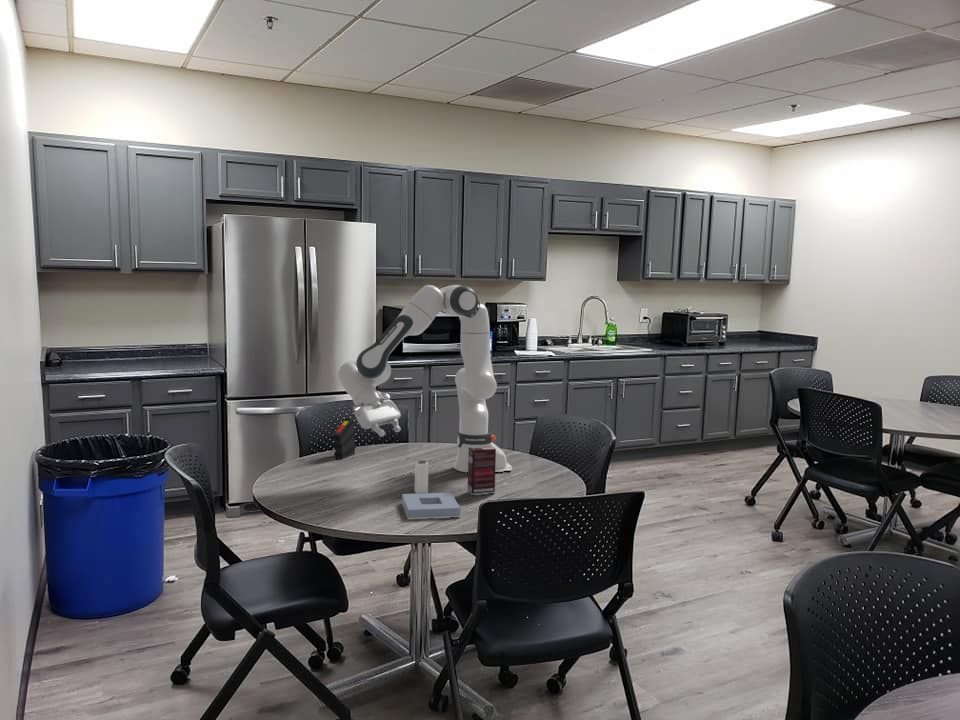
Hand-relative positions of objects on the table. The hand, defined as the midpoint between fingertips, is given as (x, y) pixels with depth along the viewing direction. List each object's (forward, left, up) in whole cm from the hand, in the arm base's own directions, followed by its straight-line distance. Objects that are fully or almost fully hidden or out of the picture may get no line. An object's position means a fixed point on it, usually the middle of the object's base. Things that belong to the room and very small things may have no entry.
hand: (391, 433), depth 249 cm
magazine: (+14, -42, -19) cm, 48 cm away
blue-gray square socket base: (-10, +28, -19) cm, 35 cm away
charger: (-10, +8, -19) cm, 23 cm away
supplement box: (-30, +12, -19) cm, 37 cm away
